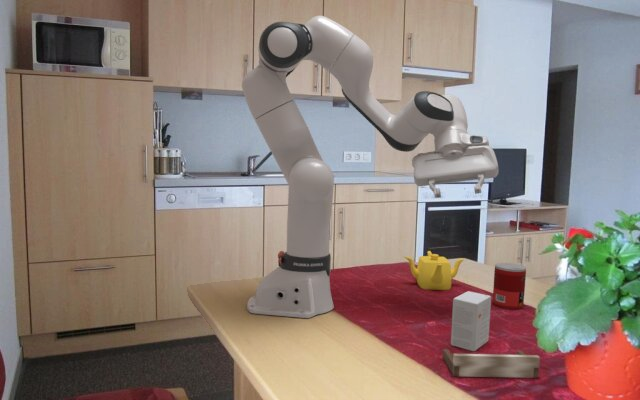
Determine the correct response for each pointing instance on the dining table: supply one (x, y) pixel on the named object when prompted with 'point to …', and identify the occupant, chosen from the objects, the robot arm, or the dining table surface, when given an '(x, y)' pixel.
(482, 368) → the bay
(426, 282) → the teapot
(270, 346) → the dining table surface
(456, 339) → the small box
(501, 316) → the dining table surface
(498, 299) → the canned food
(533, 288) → the dining table surface
